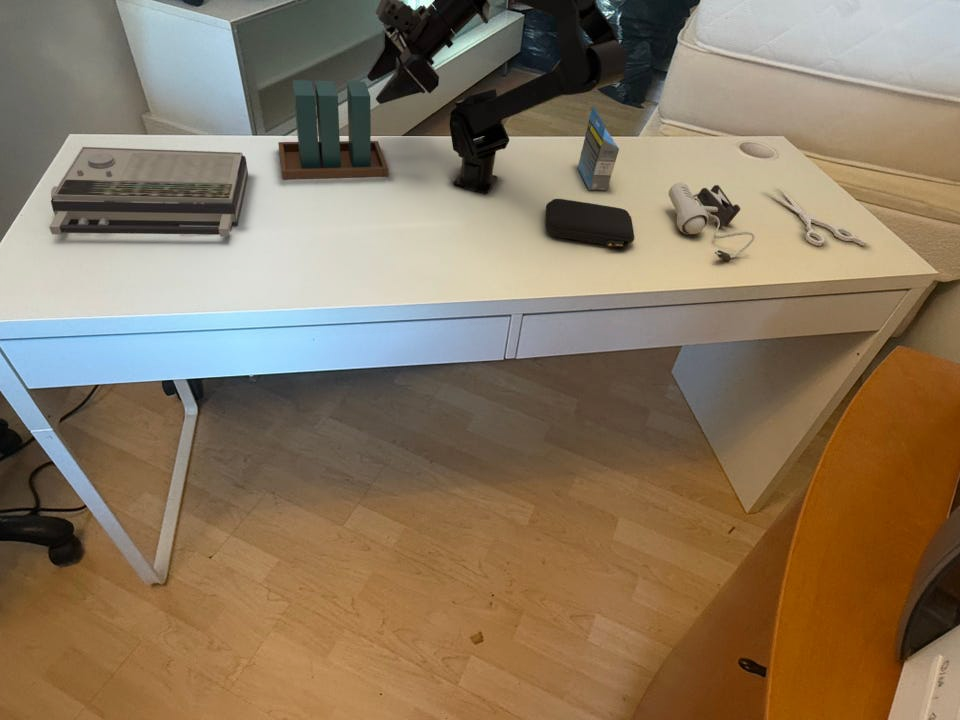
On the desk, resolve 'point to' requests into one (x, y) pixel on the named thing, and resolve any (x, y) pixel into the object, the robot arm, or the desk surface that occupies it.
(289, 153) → the book tray
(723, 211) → the clip-on lamp
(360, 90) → the slim teal book
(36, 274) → the desk surface
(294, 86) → the teal book
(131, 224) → the radio
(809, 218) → the scissors
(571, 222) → the carrying case
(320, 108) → the teal book
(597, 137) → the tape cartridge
